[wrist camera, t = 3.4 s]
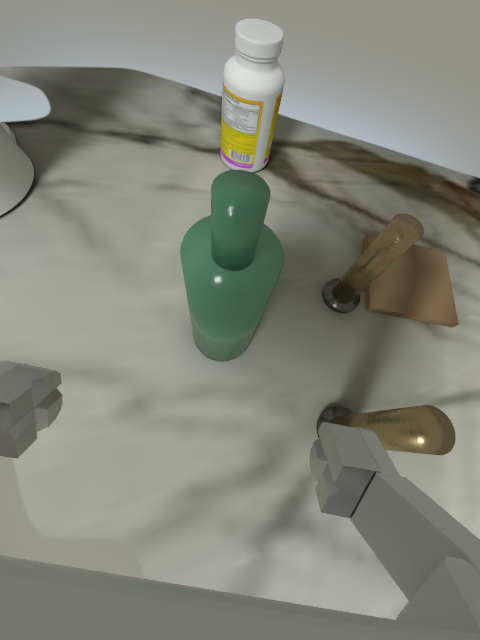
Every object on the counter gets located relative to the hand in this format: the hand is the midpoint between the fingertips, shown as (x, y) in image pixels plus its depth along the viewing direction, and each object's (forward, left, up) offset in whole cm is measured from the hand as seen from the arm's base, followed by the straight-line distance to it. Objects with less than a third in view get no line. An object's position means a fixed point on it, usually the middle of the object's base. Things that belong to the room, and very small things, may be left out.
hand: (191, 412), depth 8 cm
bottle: (0, +9, -16) cm, 18 cm away
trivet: (+20, +20, -16) cm, 32 cm away
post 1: (+12, +16, -16) cm, 25 cm away
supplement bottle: (-2, +35, -16) cm, 38 cm away
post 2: (+12, +2, -16) cm, 20 cm away
